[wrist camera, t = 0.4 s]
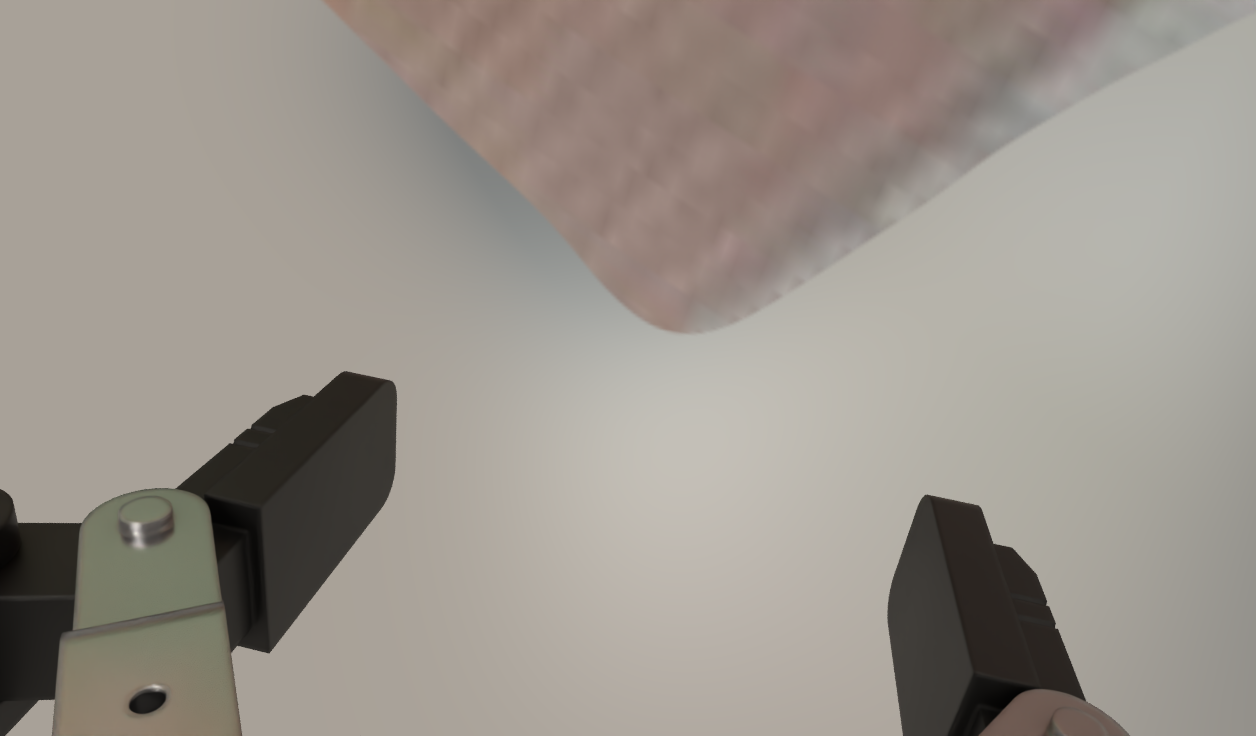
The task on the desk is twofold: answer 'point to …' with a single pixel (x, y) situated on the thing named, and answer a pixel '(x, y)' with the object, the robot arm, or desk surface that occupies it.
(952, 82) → the desk surface
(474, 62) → the desk surface
